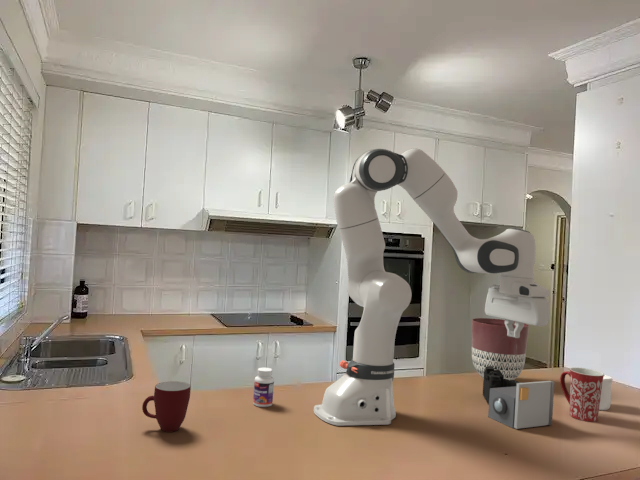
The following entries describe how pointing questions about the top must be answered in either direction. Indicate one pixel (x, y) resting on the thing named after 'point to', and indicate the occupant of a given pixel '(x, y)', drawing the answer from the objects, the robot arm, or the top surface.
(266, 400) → the pill bottle
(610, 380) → the cup
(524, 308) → the robot arm
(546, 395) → the door
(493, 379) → the camera
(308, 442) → the top surface
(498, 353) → the planter
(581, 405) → the mug
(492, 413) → the housing
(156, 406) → the mug
